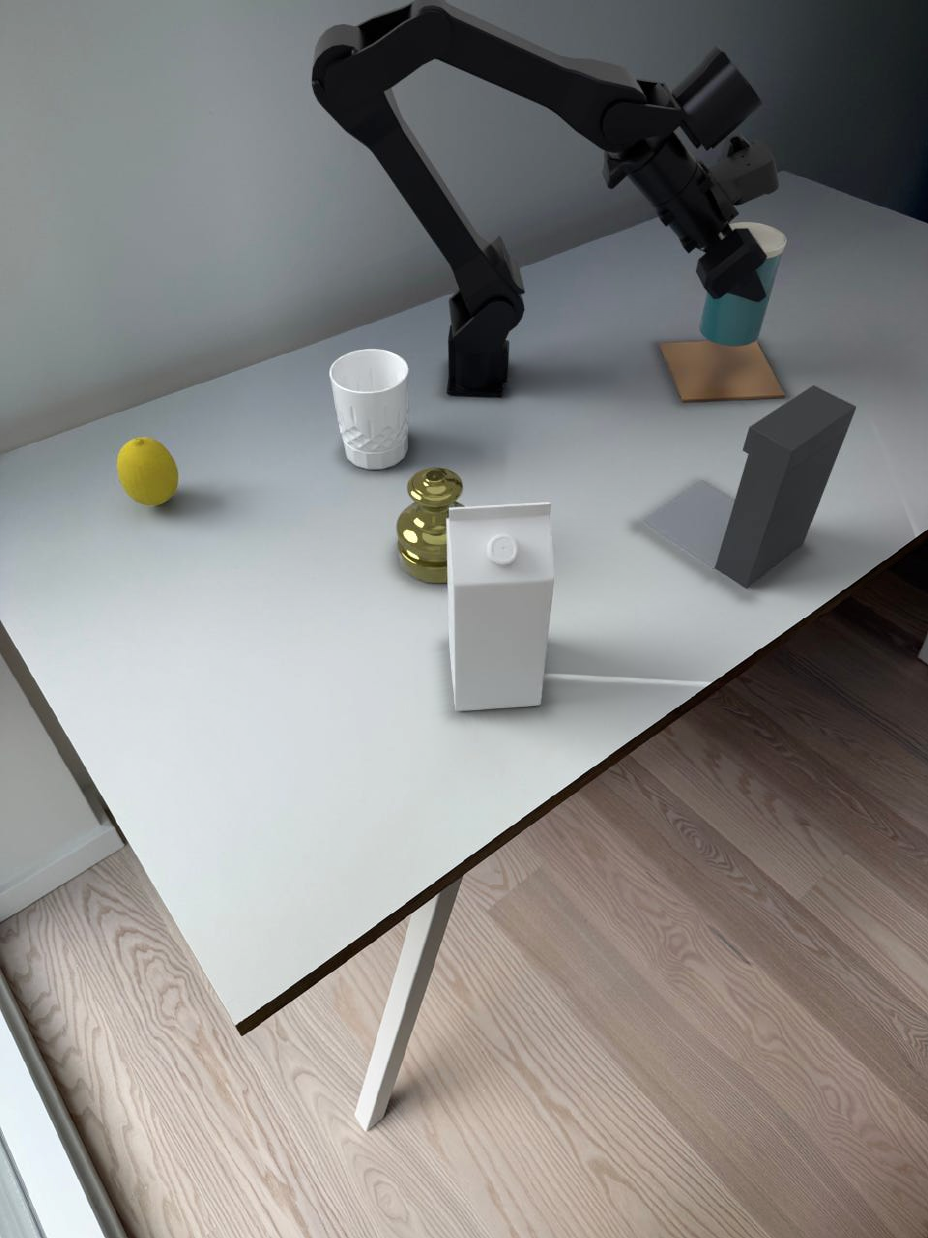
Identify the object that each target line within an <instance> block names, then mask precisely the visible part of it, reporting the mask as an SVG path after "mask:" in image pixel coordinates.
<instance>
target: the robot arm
mask: <svg viewBox="0 0 928 1238" xmlns="http://www.w3.org/2000/svg"><path fill="white" fill-rule="evenodd" d="M434 60H438V61H440V62H442V63H444V64H445V65H448V66H451V67H454V68H456V69H458V70H460V71H463V72H465V73H467V74H469V75H472V76H473V77H476V78H478V79H481V80H483V81H485V82H488V83H490V84H491V85H495V86H496V87H499V88H502V89H504V90H506V91H509V92H511V93H513V94H515V95H517V96H520V97H521V98H524V99H526V100H529V101H531V102H533V103H535V104H538V105H540V106H542V107H544V108H547V109H548V110H550V111H551V112H553V113H554V114H555V115H557V116H558V117H559V118H560V119H562V121H564V122H565V123H566V124H567V125H568V126H570V128H571V129H573V130H574V131H575V132H577V134H579V135H580V136H582V137H583V138H585V139H586V140H588V141H589V142H591V143H592V144H593V145H595V146H596V147H597V148H599V149H601V150H602V151H604V152H603V158H604V161H603V166H602V170H601V174H602V176H603V179H604V181H605V184H606V186H607V188H608V189H609V190H614V189H615V188H616V187H617V186H618V185H619V184H620V183H621V182H623V180H625V178H628V179H629V180H630V182H631V183H632V184H633V185H634V186H635V187H636V189H637V190H638V191H639V193H640V194H641V195H642V196H643V197H644V198H645V199H646V200H647V202H648V204H650V206H651V207H652V208H653V209H654V210H655V212H656V215H657V216H658V218H659V220H660V222H662V224H663V225H664V226H665V228H666V227H669V229H671V231H672V232H673V233H674V234H675V236H676V237H677V238H678V240H679V242H680V244H681V246H682V248H683V249H684V251H686V253H687V254H690V253H691V252H693V251H694V250H695V249H697V250H698V251H701V252H702V253H704V254H703V255H702V256H701V257H699V258H698V260H697V264H696V268H695V273H696V275H697V277H698V279H699V281H700V283H701V285H702V287H703V289H704V290H705V291H706V293H707V292H708V293H709V294H710V296H711V297H712V298H713V299H720V298H721V297H722V296H724V295H725V294H726V293H729V294H733V295H736V296H739V297H742V298H745V299H749V300H752V301H755V302H760V301H762V300H763V299H764V298H765V297H766V296H767V295H766V292H765V290H764V287H763V285H762V283H761V280H760V278H759V275H758V273H757V271H756V269H757V268H759V267H760V266H761V265H762V264H764V262H765V260H766V258H767V255H766V253H765V252H764V250H763V249H762V247H761V245H760V244H759V243H758V241H757V240H756V238H755V237H754V235H753V234H752V233H751V232H750V230H749V229H748V228H735V229H734V230H732V228H731V227H730V225H729V224H731V222H732V221H733V220H734V219H735V218H736V217H738V216H739V215H740V212H739V211H738V209H737V208H736V206H737V207H738V206H741V205H742V206H743V205H744V204H746V203H749V202H751V201H753V200H755V199H758V198H759V197H762V196H764V195H771V194H773V193H774V192H776V191H777V190H778V189H779V188H780V181H779V175H778V170H777V169H778V168H777V163H776V158H775V155H774V154H773V152H772V151H771V149H770V148H769V147H768V145H767V144H766V143H764V142H759V141H758V139H754V140H752V144H750V142H749V141H748V140H747V139H746V138H745V137H744V136H743V135H742V133H740V132H736V133H733V132H734V131H735V130H736V129H737V128H738V127H740V125H742V124H743V122H745V121H746V120H747V119H748V118H749V117H751V116H752V115H753V114H754V113H755V112H756V111H757V110H758V109H759V108H760V107H761V106H762V105H763V104H764V103H763V101H762V100H761V97H759V95H758V94H757V92H756V90H755V89H754V88H753V86H752V85H751V83H750V82H749V80H747V78H746V77H745V76H744V74H743V73H742V72H741V71H740V70H739V68H738V67H737V66H736V65H735V63H733V62H732V61H731V59H730V58H729V57H728V55H727V53H726V52H725V51H724V49H722V47H721V46H720V45H715V46H714V47H713V48H712V49H711V50H710V51H709V52H707V54H705V56H704V57H703V59H702V60H701V61H700V63H699V64H698V65H697V66H696V67H695V68H694V69H693V70H692V71H691V72H690V73H689V74H688V75H687V76H686V77H685V78H684V79H682V81H680V82H679V84H678V85H677V86H675V88H674V89H672V90H671V88H670V87H669V85H668V84H667V83H666V82H663V81H657V80H652V79H651V80H650V79H643V78H636V77H635V76H634V75H633V73H632V72H631V71H630V70H628V68H626V67H624V66H623V65H622V66H621V65H619V64H614V63H610V62H606V61H601V60H596V59H592V58H582V57H581V58H579V57H577V58H576V57H569V56H564V55H560V54H558V53H556V52H553V51H551V50H549V49H547V48H544V47H543V46H541V45H538V44H536V43H534V42H532V41H530V40H528V39H525V38H524V37H521V36H519V35H517V34H515V33H512V32H510V31H508V30H506V29H504V28H501V27H499V26H497V25H494V24H493V23H491V22H488V21H487V20H484V19H482V18H480V17H477V16H476V15H473V14H471V13H469V12H467V11H465V10H463V9H460V8H458V7H456V6H453V5H452V4H450V3H449V2H447V1H446V0H413V1H411V2H409V3H407V4H405V5H403V6H401V7H398V8H394V9H392V10H389V11H385V12H382V13H380V14H377V15H374V16H371V17H370V18H368V19H366V20H364V21H362V22H359V24H356V25H351V24H346V23H341V24H334V25H332V26H331V27H328V28H327V29H326V30H324V32H323V33H321V35H320V36H319V37H318V40H317V42H316V45H315V47H314V54H313V63H312V69H311V87H312V91H313V95H314V96H315V98H316V101H317V102H318V103H319V105H320V106H321V107H322V109H324V110H325V112H327V114H328V115H329V116H330V117H331V118H332V119H333V120H334V121H335V122H336V123H337V124H338V125H339V126H340V127H341V128H342V129H343V130H344V131H345V132H346V133H347V134H348V135H350V136H351V137H352V138H354V139H355V140H357V142H359V143H361V144H362V145H363V146H365V147H366V148H367V149H368V150H369V151H370V152H371V153H372V154H373V155H374V158H376V160H377V161H378V163H379V164H380V166H381V167H382V169H383V170H384V171H385V173H386V175H387V176H388V177H389V180H390V181H391V182H392V183H393V184H394V186H395V188H396V189H397V191H398V192H399V194H400V195H401V196H402V198H403V200H405V203H407V205H408V206H409V208H410V210H411V211H412V212H413V214H414V216H415V217H416V218H417V220H418V221H419V223H420V225H422V227H423V228H424V230H425V232H426V233H427V234H428V236H429V237H430V238H431V240H432V241H433V243H434V244H435V246H436V247H437V249H438V251H439V252H440V253H441V255H442V256H443V258H444V259H445V260H446V262H447V263H448V264H449V266H450V269H451V271H452V273H453V276H454V279H455V281H456V283H457V287H458V290H457V291H456V292H454V294H453V295H452V296H450V297H449V298H448V308H449V315H450V325H449V330H448V337H447V362H448V363H447V364H448V365H447V366H448V377H447V383H446V394H447V395H451V396H476V397H477V396H478V397H480V396H481V397H502V396H503V394H504V385H505V384H507V383H508V379H509V360H510V340H508V339H507V338H508V336H509V334H510V332H511V331H512V330H514V329H515V328H516V327H517V326H518V325H519V324H520V322H521V321H522V319H523V317H524V313H525V303H524V299H523V295H525V293H526V290H525V286H524V282H523V277H522V274H521V269H520V265H519V261H518V260H516V259H515V258H513V257H512V256H511V254H510V253H509V252H508V250H507V248H506V245H505V242H504V240H503V238H502V236H501V235H499V236H497V237H496V238H495V239H494V240H493V241H492V242H491V243H490V242H489V241H487V240H486V239H485V238H483V237H482V236H481V235H479V233H478V232H477V231H476V230H475V228H474V226H473V224H472V222H470V220H469V218H468V216H467V215H466V213H464V211H463V209H462V207H461V206H460V204H459V202H458V201H457V200H456V198H455V196H454V195H453V193H452V192H451V191H450V189H449V187H448V186H447V184H446V182H445V181H444V179H443V177H442V176H441V175H440V173H439V171H438V170H437V169H436V167H435V166H434V163H433V162H432V160H431V159H430V157H429V156H428V154H427V153H426V151H425V149H424V148H423V147H422V145H421V144H420V142H419V140H418V139H417V137H416V136H415V134H414V133H413V131H412V129H411V128H410V127H409V125H408V123H407V122H406V120H405V118H404V117H403V114H402V113H401V110H400V108H399V105H398V102H397V99H396V97H395V94H394V91H393V89H392V88H393V87H395V86H396V85H397V84H399V83H400V82H402V81H403V80H404V79H406V78H407V77H409V76H411V74H413V73H414V72H416V71H417V70H418V69H420V68H421V67H422V66H424V65H426V64H428V63H430V62H432V61H434ZM678 128H680V129H681V130H682V131H683V134H685V135H686V137H687V138H688V139H689V141H690V142H691V143H692V145H693V147H694V148H695V149H696V150H698V149H699V148H701V147H703V148H704V150H705V151H706V152H708V151H710V149H712V150H714V149H715V148H716V147H717V146H718V145H719V144H720V143H722V141H724V142H723V146H722V150H721V155H720V156H718V157H717V161H718V162H717V163H715V164H712V165H711V166H709V167H708V166H707V165H706V164H705V163H704V161H703V160H702V159H698V158H695V157H694V155H693V153H692V152H690V150H689V149H688V147H687V146H686V145H685V143H683V141H682V140H681V138H680V137H679V135H678V134H677V133H676V132H675V131H676V130H677V129H678ZM732 133H733V134H732ZM730 134H731V135H730ZM720 232H721V233H722V235H723V236H724V238H723V239H722V237H721V235H720V234H719V233H720Z"/></svg>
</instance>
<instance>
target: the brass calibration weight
mask: <svg viewBox="0 0 928 1238" xmlns="http://www.w3.org/2000/svg"><path fill="white" fill-rule="evenodd" d="M463 491H464V484H463V480H462V479H461V477H460V476H459V474H457V473H456V472H454V471H452V470H450V469H448V468H444V467H436V466H435V467H427V468H423V469H420V470H418V471H417V472H415V473H414V474H411V476H410V477H409V479H408V481H407V484H406V492H407V494H408V497H409V498H410V499H411V500H412V501H413V502H412V503H411V504H409V505H408V506H407V507H406V508H404V509H403V510H402V512H401V513H400V514H399V516H398V518H397V521H396V534H397V549H398V554H399V555H398V556H399V563H400V565H401V567H402V569H403V570H404V571H405V572H406V573H407V574H408V575H409V576H410V577H413V578H414V579H416V580H418V581H421V582H424V583H431V584H443V583H448V573H447V525H446V519H447V518H449V508H452V507H466V505H465V504H462V503H460V502H459V501H458V500H459V499H460V498H461V497H462V495H463Z"/></svg>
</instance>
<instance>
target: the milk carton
mask: <svg viewBox="0 0 928 1238" xmlns="http://www.w3.org/2000/svg"><path fill="white" fill-rule="evenodd" d="M551 511H552V503H551V501H544V502H543V501H541V502H526V503H525V502H524V503H506V504H505V503H504V504H488V505H487V504H486V505H473V506H472V505H471V506H470V505H469V506H465V507H452V508H449V518H447V519H446V525H447V573H448V582H447V605H448V606H447V614H448V615H447V616H448V617H447V619H448V648H449V658H450V670H451V680H452V688H453V689H452V690H453V700H454V701H453V702H454V709H455V711H456V712H464V711H465V712H466V711H480V710H493V709H509V708H510V709H511V708H524V707H534V706H540V705H541V704H542V697H543V687H544V679H545V669H546V661H547V649H548V640H549V631H550V621H551V612H552V603H553V602H552V601H553V593H554V585H555V569H554V567H555V566H554V565H555V564H554V552H553V551H554V550H553V538H552V537H553V535H552V521H551Z"/></svg>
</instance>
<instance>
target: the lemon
mask: <svg viewBox="0 0 928 1238" xmlns="http://www.w3.org/2000/svg"><path fill="white" fill-rule="evenodd" d="M116 469H117V477H118V480H119V482H120V484H121V487H122V488H123V490H124V492H125V493H126V494H127V495H128V497H130V498H131V499H132V500H133V501H134V502H137V503H138V504H141V505H145V506H150V507H151V506H153V507H154V506H160V505H162V504H164V503H167V501H169V500H170V499H171V498H172V497H173V496H174V495H175V493H176V491H177V489H178V485H179V471H178V467H177V463H176V461H175V458H174V457H173V455H172V453H171V452H170V451H169V449H168V448H167V447H166V446H165V445H164V444H163V443H161V442H160V441H158V440H157V439H155V438H151V437H145V436H143V437H141V436H140V437H135V438H132V439H131V440H129V441H127V442H126V443H124V445H123V446H122V447H121V449H120V450H119V452H118V455H117V459H116Z"/></svg>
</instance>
